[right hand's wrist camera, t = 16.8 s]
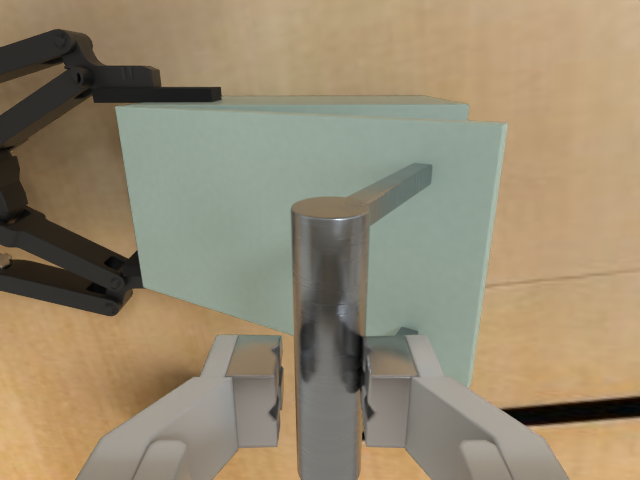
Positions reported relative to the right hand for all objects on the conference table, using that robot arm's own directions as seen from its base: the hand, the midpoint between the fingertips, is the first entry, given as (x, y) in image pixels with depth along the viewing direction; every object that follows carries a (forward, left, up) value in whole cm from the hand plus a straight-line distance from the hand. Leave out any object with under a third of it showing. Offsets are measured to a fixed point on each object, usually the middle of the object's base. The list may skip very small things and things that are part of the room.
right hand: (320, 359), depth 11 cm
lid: (+1, +2, -10) cm, 10 cm away
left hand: (+3, +5, -18) cm, 19 cm away
